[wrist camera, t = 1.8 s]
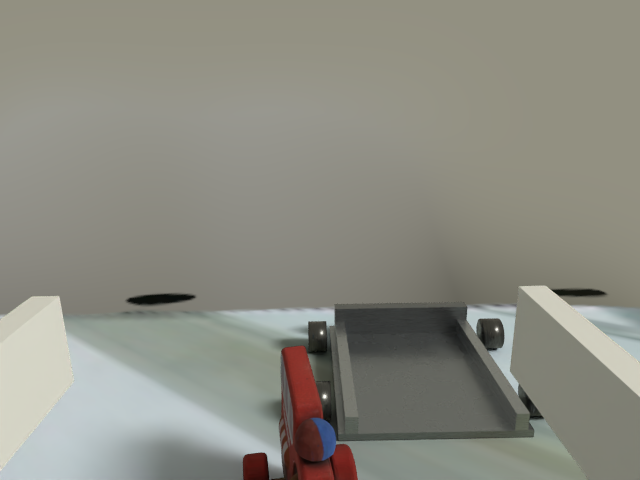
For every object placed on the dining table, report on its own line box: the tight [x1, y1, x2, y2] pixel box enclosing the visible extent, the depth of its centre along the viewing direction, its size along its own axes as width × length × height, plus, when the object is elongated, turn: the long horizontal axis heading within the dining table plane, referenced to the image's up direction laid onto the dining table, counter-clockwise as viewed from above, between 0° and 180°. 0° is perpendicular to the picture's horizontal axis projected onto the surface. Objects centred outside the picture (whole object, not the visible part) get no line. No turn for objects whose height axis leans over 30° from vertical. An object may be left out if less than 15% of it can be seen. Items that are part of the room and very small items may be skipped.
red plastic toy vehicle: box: [243, 346, 358, 480], centre depth 28 cm, size 7×12×10 cm, turn 8°
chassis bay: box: [308, 302, 542, 441], centre depth 46 cm, size 20×18×4 cm
